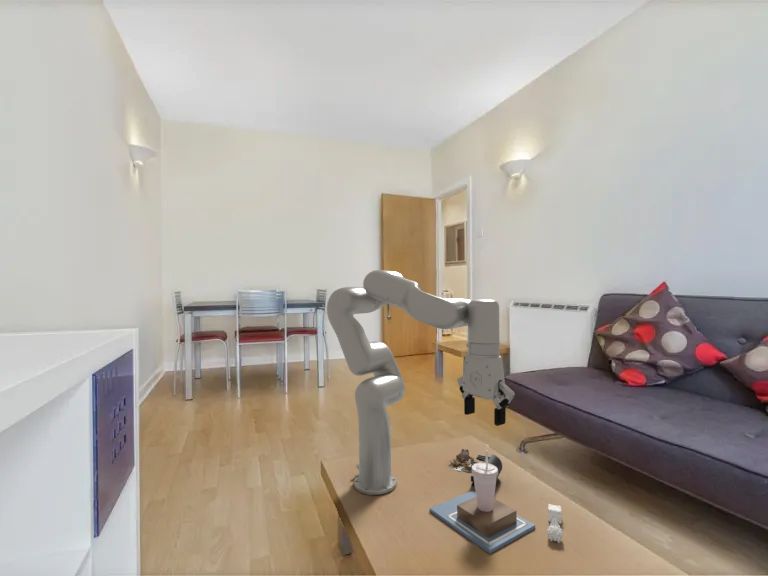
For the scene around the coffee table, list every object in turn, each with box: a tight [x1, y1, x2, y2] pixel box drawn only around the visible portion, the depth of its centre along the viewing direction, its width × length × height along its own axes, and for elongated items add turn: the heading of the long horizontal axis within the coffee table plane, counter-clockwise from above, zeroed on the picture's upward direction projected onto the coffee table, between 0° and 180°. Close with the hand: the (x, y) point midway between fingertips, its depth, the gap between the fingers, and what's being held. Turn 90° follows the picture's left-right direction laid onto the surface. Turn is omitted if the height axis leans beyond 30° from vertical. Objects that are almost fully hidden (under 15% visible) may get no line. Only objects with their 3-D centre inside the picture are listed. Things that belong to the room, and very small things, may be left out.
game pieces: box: [546, 503, 564, 544], centre depth 93 cm, size 12×3×3 cm, turn 156°
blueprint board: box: [429, 490, 536, 555], centre depth 97 cm, size 20×16×1 cm
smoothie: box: [471, 449, 498, 512], centre depth 96 cm, size 6×6×14 cm
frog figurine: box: [449, 448, 481, 473], centre depth 129 cm, size 12×12×4 cm
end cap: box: [470, 454, 503, 488], centre depth 116 cm, size 10×7×7 cm
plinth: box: [457, 497, 518, 538], centre depth 96 cm, size 10×10×3 cm
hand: (484, 418), depth 96 cm, fingers open, 9 cm apart
